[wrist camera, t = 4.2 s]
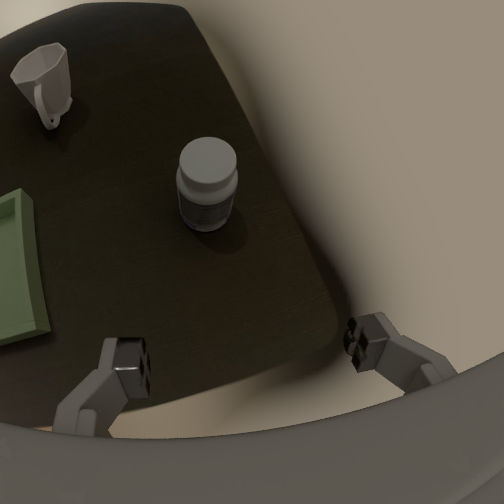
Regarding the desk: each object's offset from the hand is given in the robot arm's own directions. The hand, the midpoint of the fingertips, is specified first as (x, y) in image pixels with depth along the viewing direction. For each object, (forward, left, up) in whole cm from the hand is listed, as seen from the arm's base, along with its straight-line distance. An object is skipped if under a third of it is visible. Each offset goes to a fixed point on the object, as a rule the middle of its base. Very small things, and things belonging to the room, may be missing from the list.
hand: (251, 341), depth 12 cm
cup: (+30, +12, -15) cm, 35 cm away
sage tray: (+12, +22, -15) cm, 29 cm away
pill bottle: (+12, -2, -15) cm, 19 cm away
